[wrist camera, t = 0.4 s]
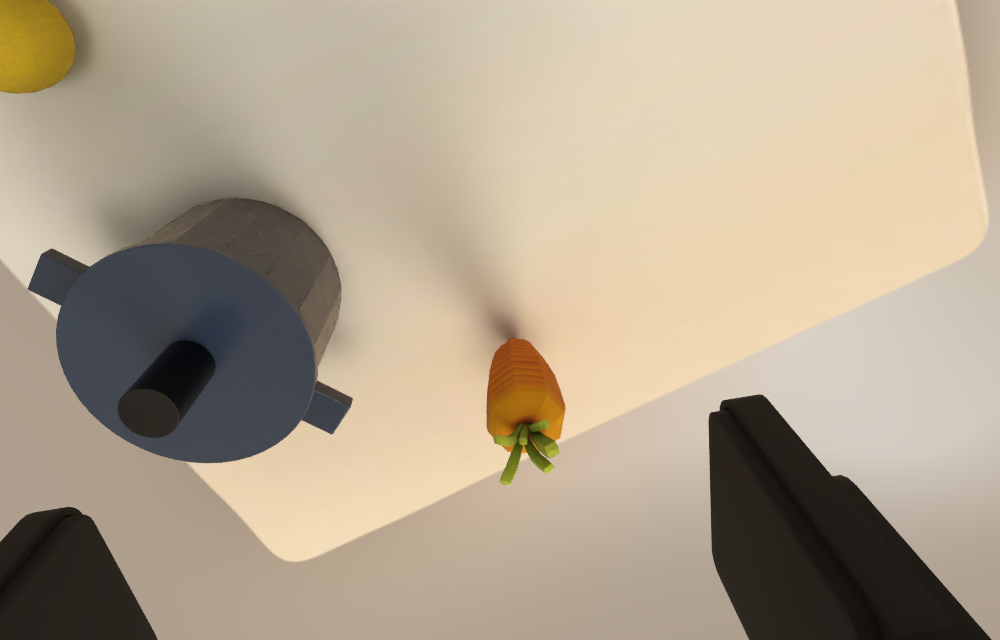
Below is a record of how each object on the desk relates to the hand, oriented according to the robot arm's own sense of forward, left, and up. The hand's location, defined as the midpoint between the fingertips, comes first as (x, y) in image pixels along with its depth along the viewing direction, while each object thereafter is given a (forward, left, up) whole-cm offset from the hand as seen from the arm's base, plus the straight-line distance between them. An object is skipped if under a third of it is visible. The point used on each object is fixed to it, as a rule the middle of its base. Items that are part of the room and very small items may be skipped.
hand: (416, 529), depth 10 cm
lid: (+8, -15, -24) cm, 30 cm away
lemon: (-9, -22, -35) cm, 43 cm away
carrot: (+15, +3, -35) cm, 38 cm away
